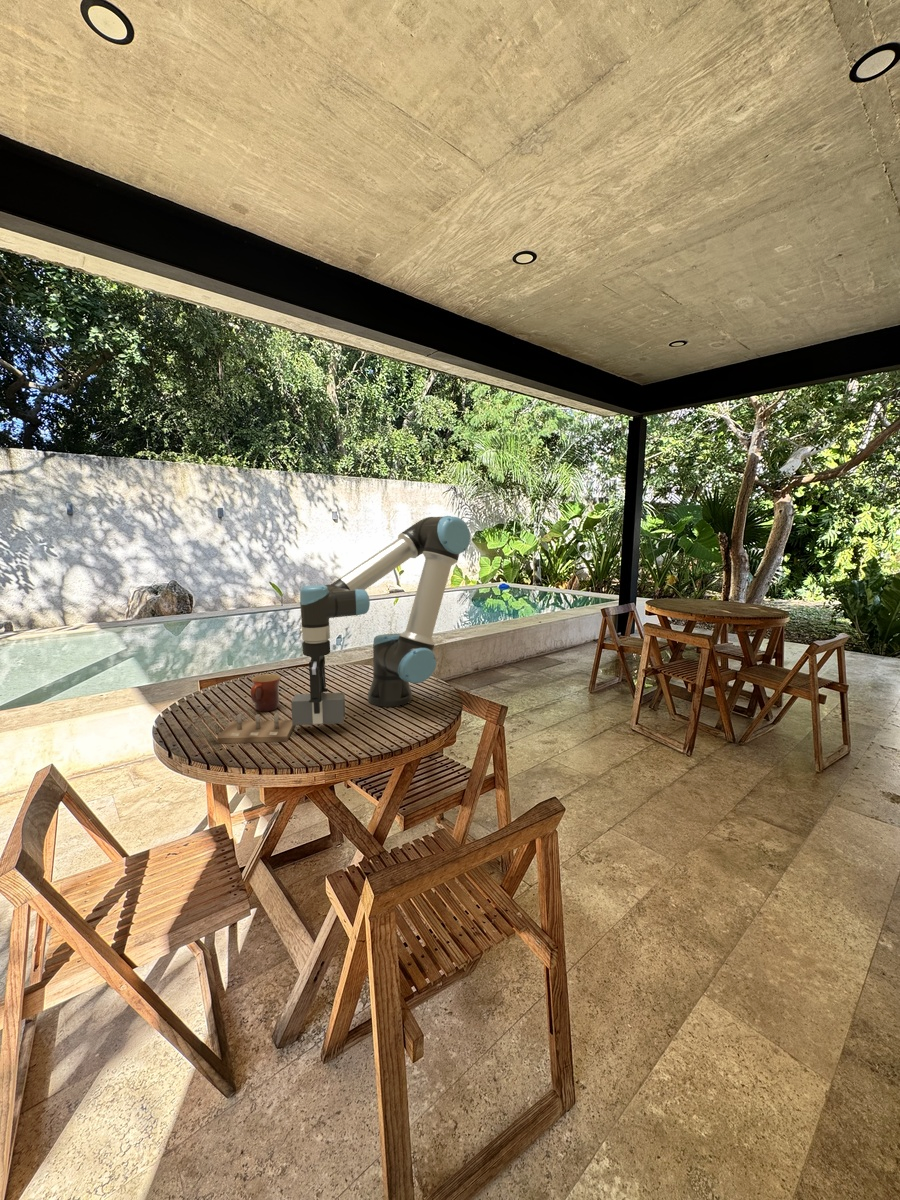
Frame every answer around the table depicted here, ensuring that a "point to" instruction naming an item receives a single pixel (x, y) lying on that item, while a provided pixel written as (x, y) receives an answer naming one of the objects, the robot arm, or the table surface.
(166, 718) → the table surface
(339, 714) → the block
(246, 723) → the board
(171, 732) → the table surface
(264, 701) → the mug
